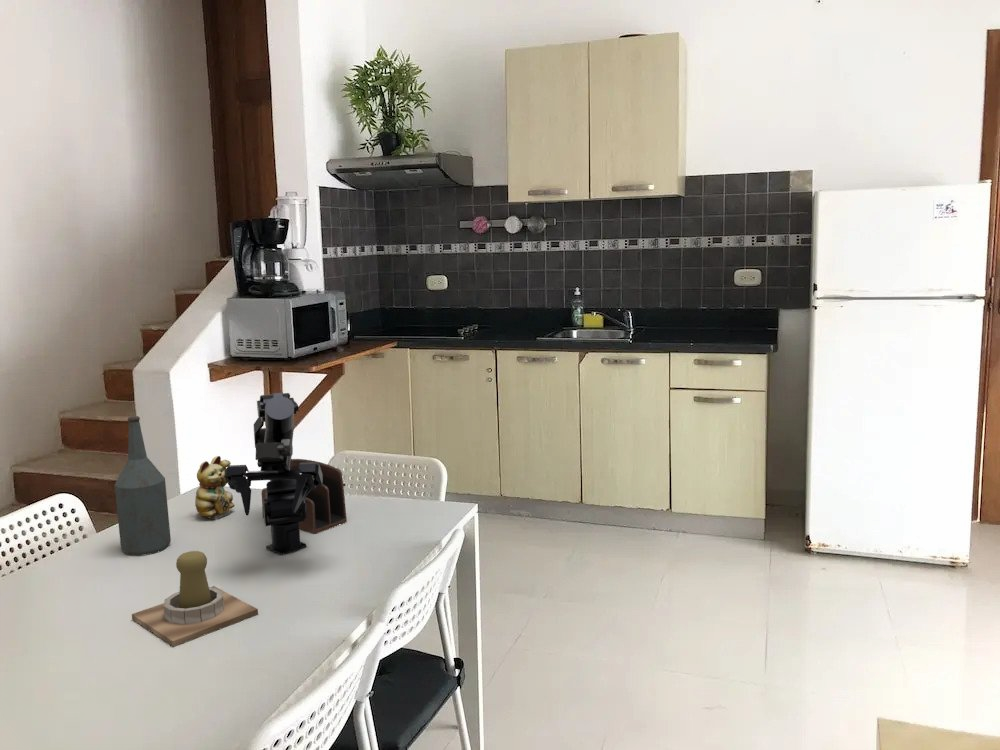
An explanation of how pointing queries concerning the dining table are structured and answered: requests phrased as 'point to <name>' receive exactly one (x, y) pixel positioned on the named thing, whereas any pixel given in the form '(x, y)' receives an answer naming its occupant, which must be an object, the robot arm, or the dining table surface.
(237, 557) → the dining table surface
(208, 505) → the decorative figurine
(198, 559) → the cork
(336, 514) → the letter holder
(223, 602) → the socket holder
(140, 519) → the bottle
